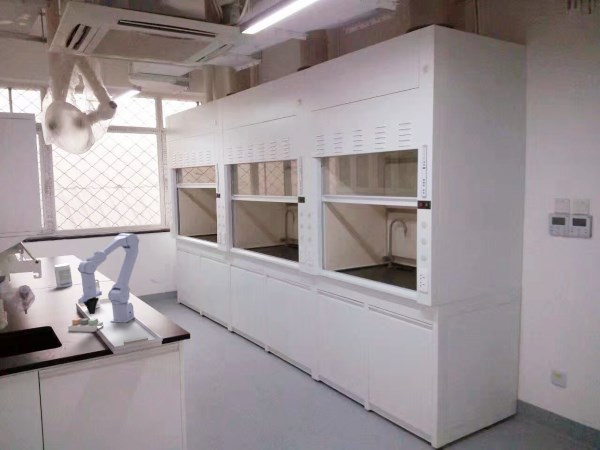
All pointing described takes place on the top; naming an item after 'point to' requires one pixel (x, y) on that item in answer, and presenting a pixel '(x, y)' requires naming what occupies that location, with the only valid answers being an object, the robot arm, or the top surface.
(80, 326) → the keypad
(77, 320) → the terracotta key
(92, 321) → the sage key
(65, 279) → the supplement tub
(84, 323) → the grey key
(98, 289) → the beer glass
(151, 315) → the top surface
